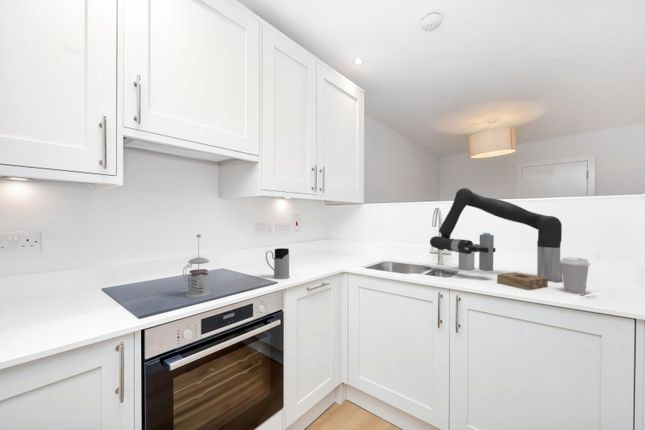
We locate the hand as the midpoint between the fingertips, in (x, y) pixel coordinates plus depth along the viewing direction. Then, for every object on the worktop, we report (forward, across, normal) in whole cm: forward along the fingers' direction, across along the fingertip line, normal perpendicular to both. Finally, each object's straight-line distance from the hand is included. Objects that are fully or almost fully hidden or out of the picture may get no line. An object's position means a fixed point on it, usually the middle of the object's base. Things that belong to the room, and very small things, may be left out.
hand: (491, 250), depth 138 cm
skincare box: (-28, +18, +16) cm, 38 cm away
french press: (-35, -135, +17) cm, 140 cm away
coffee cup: (+27, +14, +16) cm, 35 cm away
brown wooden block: (+12, +5, +16) cm, 20 cm away
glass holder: (-53, -95, +17) cm, 110 cm away
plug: (-3, 0, +10) cm, 11 cm away
